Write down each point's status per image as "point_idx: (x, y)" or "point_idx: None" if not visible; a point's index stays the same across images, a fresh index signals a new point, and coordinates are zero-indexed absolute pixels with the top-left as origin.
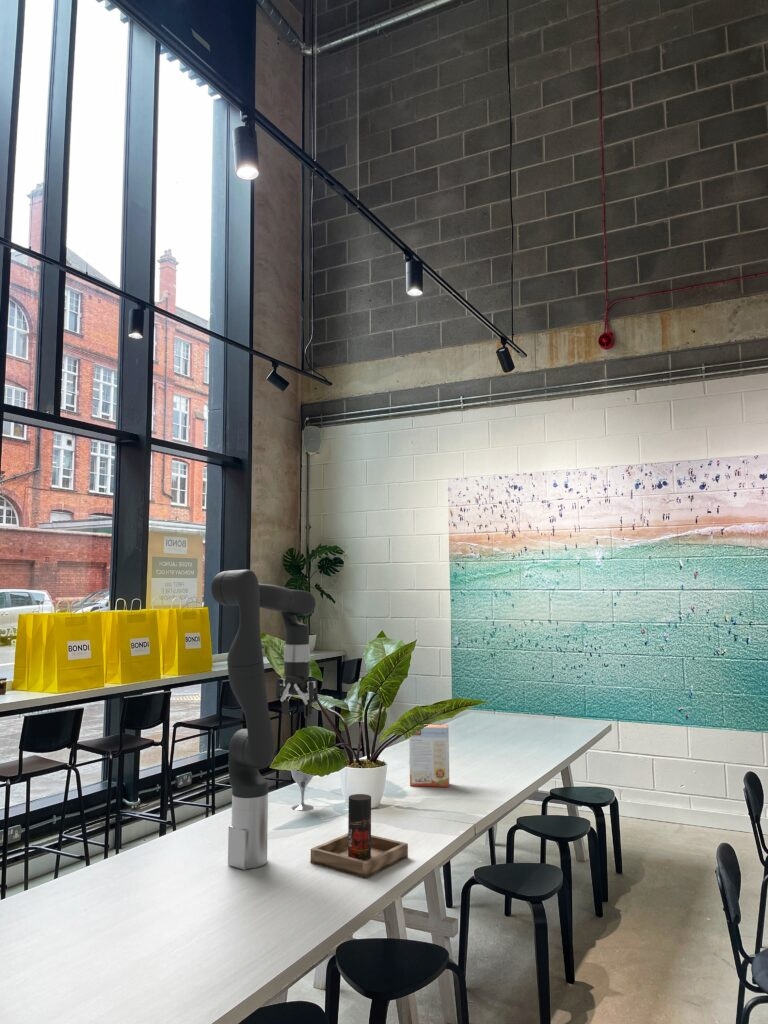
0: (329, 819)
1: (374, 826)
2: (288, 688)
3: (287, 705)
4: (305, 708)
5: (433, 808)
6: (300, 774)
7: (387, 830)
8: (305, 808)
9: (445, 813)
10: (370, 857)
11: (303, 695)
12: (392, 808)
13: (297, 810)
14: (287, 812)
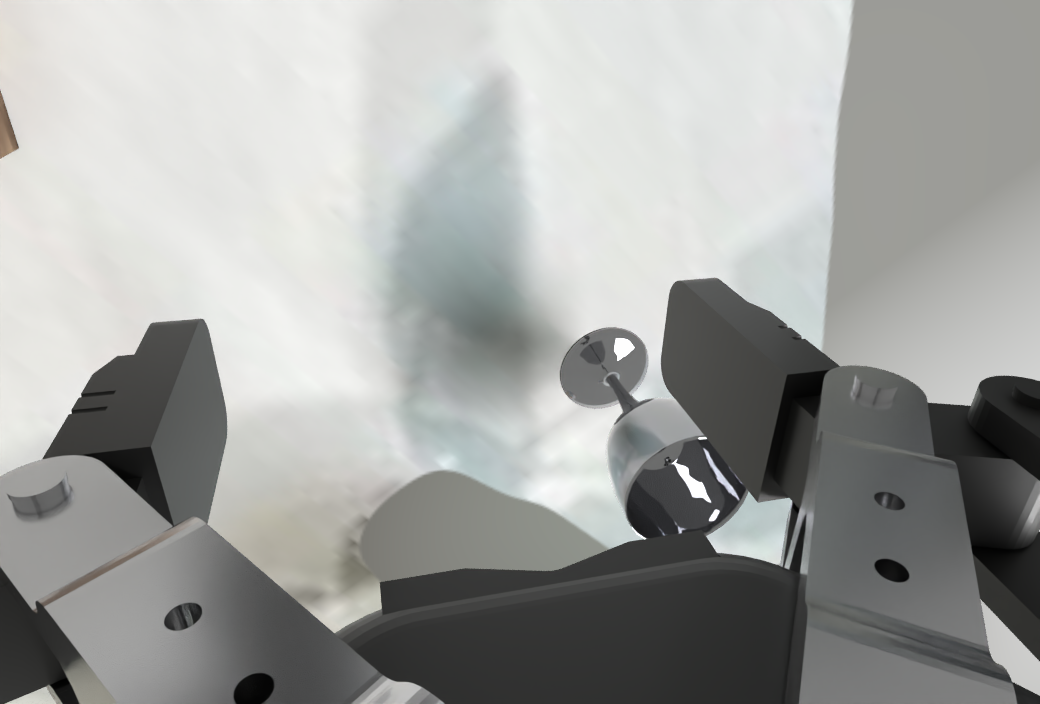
0: (403, 333)
1: None
2: (839, 620)
3: (730, 422)
4: (117, 404)
5: None
6: (641, 416)
7: (84, 386)
8: (579, 361)
9: None
10: None
11: (51, 618)
12: (308, 571)
13: (597, 331)
14: (616, 288)
